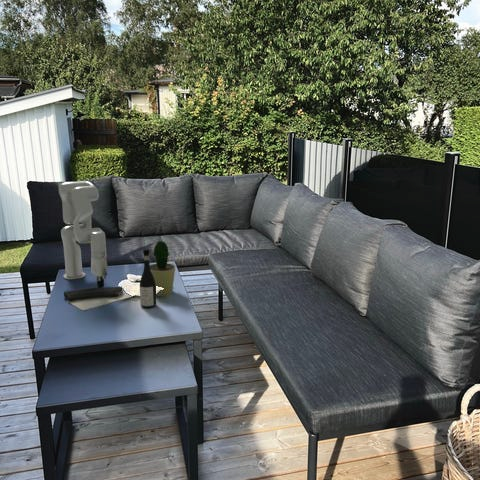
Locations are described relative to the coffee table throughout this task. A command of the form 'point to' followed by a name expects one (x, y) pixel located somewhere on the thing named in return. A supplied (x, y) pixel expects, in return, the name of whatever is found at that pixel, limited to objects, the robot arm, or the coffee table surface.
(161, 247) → the potted cactus
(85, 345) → the coffee table surface
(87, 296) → the magazine
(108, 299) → the mat
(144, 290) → the wine bottle
